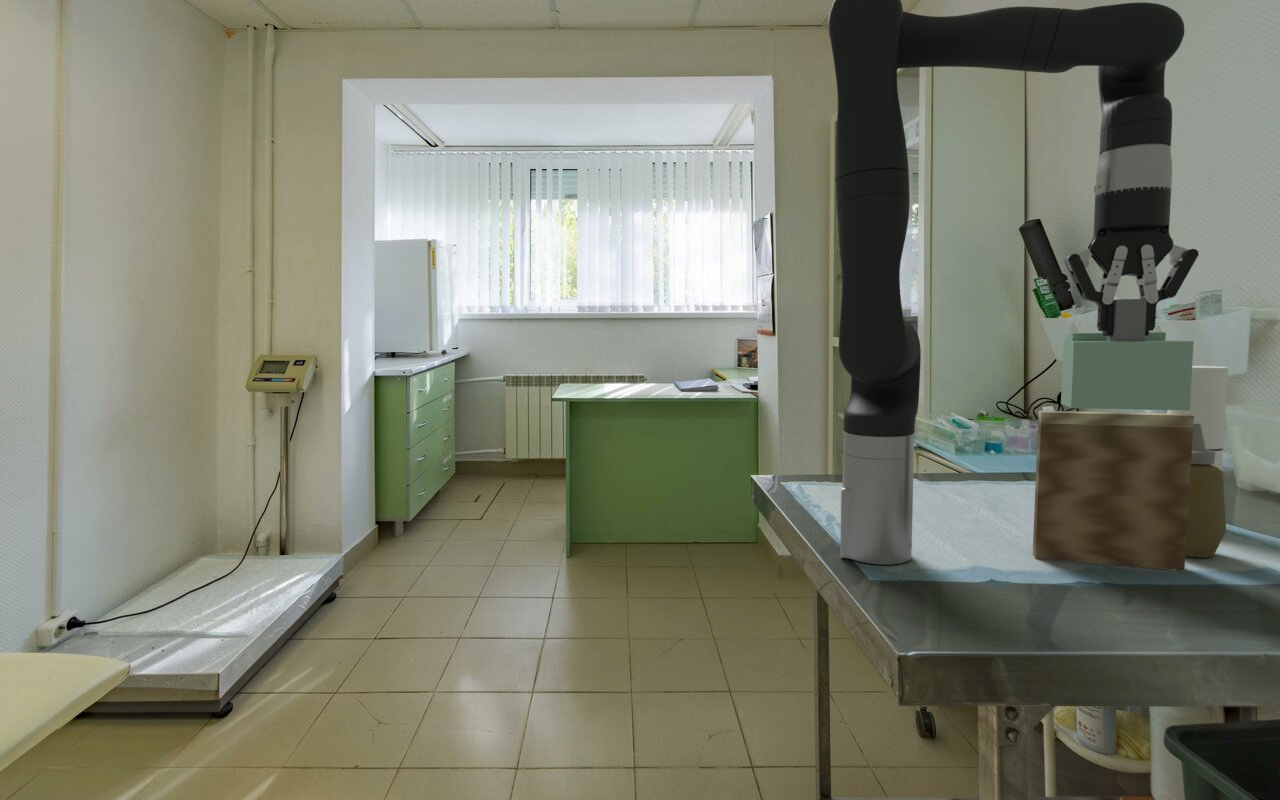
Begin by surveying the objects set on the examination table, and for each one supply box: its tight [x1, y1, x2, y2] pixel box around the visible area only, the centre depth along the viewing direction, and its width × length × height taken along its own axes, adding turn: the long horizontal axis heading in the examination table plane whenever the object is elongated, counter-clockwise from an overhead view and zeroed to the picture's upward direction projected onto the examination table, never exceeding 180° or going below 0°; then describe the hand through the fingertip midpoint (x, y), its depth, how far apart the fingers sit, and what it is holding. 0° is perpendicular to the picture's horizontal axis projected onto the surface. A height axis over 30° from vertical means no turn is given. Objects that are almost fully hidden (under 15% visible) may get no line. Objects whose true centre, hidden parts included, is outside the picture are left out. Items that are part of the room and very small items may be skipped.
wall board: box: [1032, 410, 1194, 571], centre depth 98 cm, size 17×7×20 cm, turn 71°
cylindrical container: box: [1166, 365, 1229, 471], centre depth 112 cm, size 7×7×25 cm
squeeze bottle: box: [1185, 423, 1227, 558], centre depth 99 cm, size 8×8×18 cm
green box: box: [1060, 298, 1194, 411], centre depth 90 cm, size 12×11×13 cm
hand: (1125, 335), depth 88 cm, fingers closed on green box, 3 cm apart
